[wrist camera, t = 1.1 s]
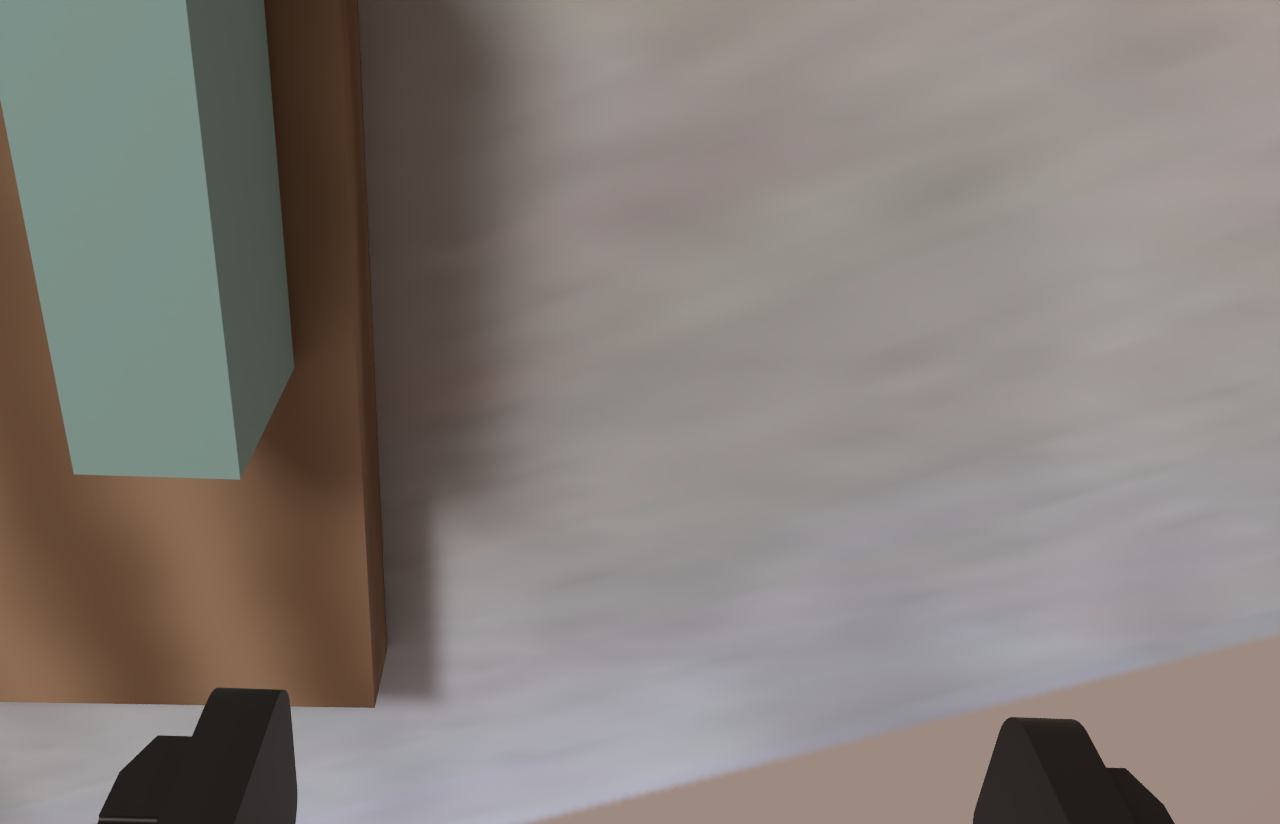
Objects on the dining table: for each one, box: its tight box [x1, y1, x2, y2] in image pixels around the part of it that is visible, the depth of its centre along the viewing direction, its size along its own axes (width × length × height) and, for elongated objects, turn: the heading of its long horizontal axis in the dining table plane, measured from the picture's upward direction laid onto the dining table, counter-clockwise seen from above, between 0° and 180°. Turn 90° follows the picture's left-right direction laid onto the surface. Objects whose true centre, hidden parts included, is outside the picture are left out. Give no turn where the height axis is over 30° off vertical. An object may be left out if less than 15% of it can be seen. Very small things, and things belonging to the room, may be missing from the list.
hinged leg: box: [0, 0, 294, 480], centre depth 21 cm, size 14×4×5 cm, turn 176°
